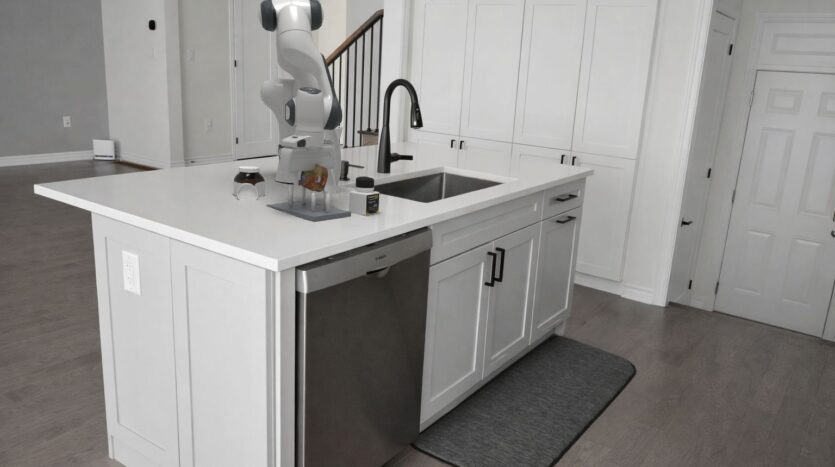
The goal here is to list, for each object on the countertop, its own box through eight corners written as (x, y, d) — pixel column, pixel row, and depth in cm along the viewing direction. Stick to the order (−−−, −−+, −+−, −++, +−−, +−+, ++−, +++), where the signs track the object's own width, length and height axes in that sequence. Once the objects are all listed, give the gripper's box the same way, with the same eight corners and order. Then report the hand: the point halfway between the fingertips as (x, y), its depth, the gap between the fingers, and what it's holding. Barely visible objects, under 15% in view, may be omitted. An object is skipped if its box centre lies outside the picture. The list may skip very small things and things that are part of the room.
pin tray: (302, 204, 215) (303, 183, 213) (351, 216, 199) (351, 193, 198) (266, 209, 203) (266, 186, 202) (314, 221, 188) (314, 197, 187)
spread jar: (256, 198, 223) (256, 165, 221) (273, 203, 215) (273, 169, 213) (225, 200, 215) (224, 166, 212) (242, 206, 207) (241, 170, 204)
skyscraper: (318, 195, 235) (319, 119, 230) (337, 195, 238) (339, 120, 232) (323, 199, 228) (325, 121, 222) (343, 198, 231) (345, 121, 225)
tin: (297, 184, 205) (303, 159, 204) (306, 186, 207) (312, 161, 206) (316, 193, 193) (322, 166, 192) (325, 195, 195) (331, 168, 194)
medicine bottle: (366, 216, 201) (367, 179, 199) (348, 213, 205) (349, 176, 202) (379, 213, 207) (380, 177, 205) (361, 210, 211) (362, 174, 208)
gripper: (328, 139, 206) (327, 180, 209) (277, 140, 191) (276, 185, 194) (341, 140, 202) (340, 183, 205) (290, 142, 187) (289, 188, 190)
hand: (308, 184), depth 200 cm, fingers open, 8 cm apart
